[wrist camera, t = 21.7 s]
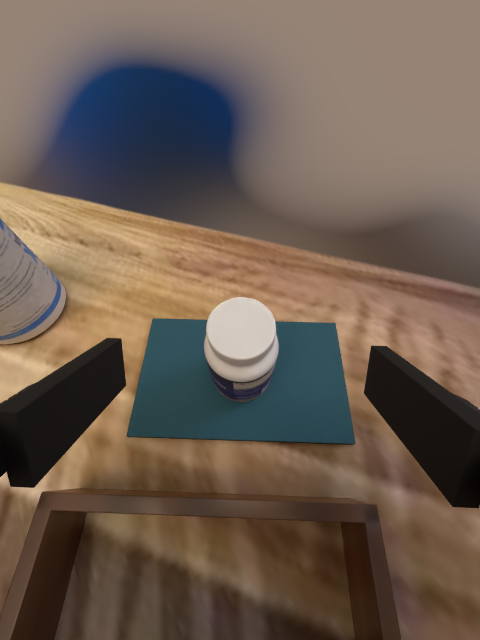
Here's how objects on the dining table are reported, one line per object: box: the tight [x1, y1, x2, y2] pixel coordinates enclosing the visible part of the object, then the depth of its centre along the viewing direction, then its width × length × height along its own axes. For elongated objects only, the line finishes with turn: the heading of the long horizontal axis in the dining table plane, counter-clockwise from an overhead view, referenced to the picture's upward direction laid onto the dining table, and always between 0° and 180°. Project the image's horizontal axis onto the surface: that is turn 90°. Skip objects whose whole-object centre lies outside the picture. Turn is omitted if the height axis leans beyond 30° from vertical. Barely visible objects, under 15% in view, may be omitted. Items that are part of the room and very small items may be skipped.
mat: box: [127, 319, 355, 444], centre depth 27 cm, size 20×12×1 cm, turn 88°
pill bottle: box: [204, 297, 279, 402], centre depth 22 cm, size 6×6×10 cm
